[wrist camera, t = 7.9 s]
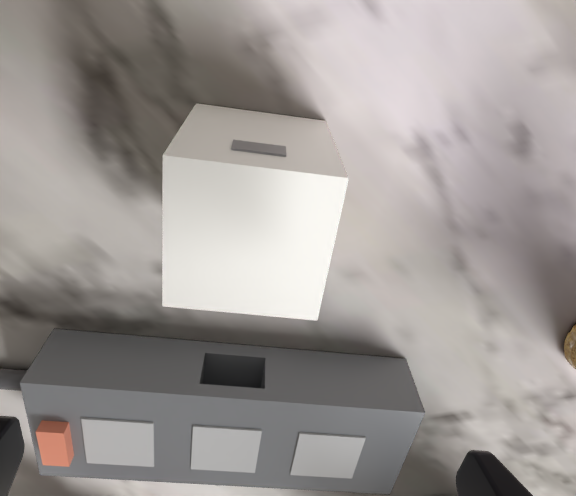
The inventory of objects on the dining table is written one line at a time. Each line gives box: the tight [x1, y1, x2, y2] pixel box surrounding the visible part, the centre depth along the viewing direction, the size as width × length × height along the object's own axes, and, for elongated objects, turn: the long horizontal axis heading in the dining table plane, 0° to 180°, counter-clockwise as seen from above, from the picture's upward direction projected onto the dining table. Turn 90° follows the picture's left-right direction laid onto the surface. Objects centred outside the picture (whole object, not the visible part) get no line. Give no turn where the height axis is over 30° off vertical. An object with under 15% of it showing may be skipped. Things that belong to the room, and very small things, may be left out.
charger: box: [162, 103, 349, 321], centre depth 16 cm, size 5×8×6 cm, turn 172°
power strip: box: [0, 329, 425, 495], centre depth 23 cm, size 24×6×4 cm, turn 82°
